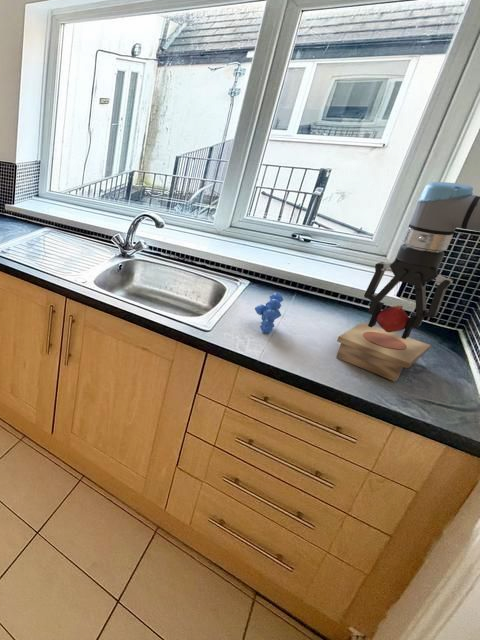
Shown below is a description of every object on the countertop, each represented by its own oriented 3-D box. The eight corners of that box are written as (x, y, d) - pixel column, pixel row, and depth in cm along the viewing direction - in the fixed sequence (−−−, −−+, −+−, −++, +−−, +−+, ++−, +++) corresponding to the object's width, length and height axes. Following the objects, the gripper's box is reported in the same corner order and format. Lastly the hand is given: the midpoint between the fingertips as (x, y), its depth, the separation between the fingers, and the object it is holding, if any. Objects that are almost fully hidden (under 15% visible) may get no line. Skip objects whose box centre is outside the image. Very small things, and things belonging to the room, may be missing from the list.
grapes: (252, 317, 133) (262, 283, 128) (277, 324, 129) (289, 290, 124) (245, 332, 125) (257, 297, 120) (273, 341, 121) (285, 304, 116)
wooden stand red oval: (421, 364, 110) (431, 344, 108) (400, 384, 102) (410, 362, 100) (355, 340, 121) (362, 321, 119) (331, 355, 114) (338, 335, 112)
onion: (370, 331, 109) (382, 304, 106) (373, 323, 113) (385, 297, 110) (401, 340, 105) (414, 313, 102) (403, 332, 109) (416, 305, 106)
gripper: (366, 238, 107) (337, 319, 115) (477, 262, 91) (434, 353, 100) (378, 234, 110) (348, 312, 118) (486, 256, 95) (443, 344, 103)
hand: (387, 331), depth 109 cm, fingers closed on onion, 6 cm apart
